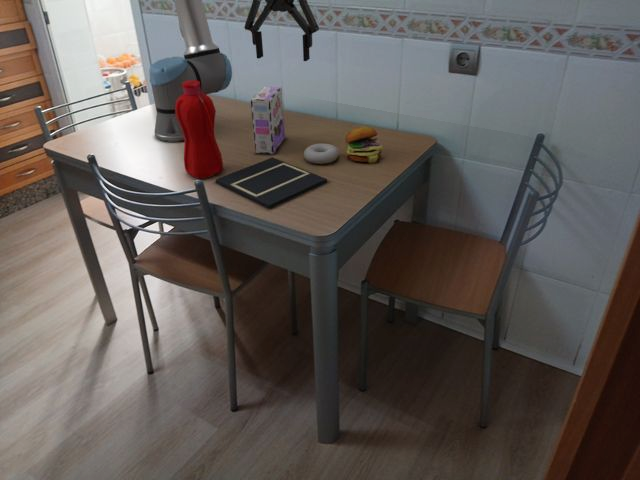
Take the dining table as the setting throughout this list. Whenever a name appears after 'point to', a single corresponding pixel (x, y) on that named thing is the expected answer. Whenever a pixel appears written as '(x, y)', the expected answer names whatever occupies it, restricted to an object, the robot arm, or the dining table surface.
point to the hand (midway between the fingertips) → (283, 58)
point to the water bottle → (198, 131)
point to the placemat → (271, 182)
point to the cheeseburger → (363, 145)
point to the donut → (321, 153)
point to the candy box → (268, 120)
